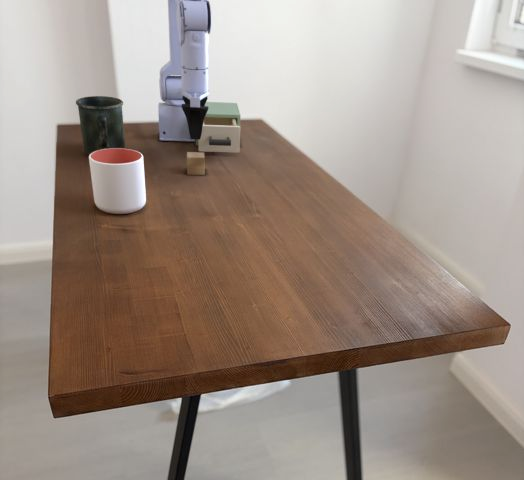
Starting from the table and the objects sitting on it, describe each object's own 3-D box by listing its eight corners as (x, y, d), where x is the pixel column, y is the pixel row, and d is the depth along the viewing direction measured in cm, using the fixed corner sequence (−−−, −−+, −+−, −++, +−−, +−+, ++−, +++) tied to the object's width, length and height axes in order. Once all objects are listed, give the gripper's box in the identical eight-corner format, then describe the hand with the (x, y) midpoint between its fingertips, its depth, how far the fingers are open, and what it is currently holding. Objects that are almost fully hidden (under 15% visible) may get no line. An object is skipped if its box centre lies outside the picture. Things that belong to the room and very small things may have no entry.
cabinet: (239, 146, 147) (240, 115, 142) (196, 145, 146) (195, 113, 141) (236, 133, 158) (237, 103, 153) (195, 131, 157) (195, 101, 152)
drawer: (240, 158, 136) (241, 132, 133) (198, 157, 135) (198, 130, 131) (236, 139, 150) (237, 114, 146) (198, 137, 149) (197, 113, 145)
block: (187, 174, 127) (186, 157, 125) (187, 169, 130) (186, 151, 128) (204, 175, 128) (204, 157, 125) (204, 169, 131) (204, 152, 128)
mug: (126, 146, 142) (121, 96, 135) (130, 164, 131) (125, 110, 123) (82, 146, 139) (75, 95, 132) (82, 165, 128) (75, 110, 121)
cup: (105, 219, 104) (99, 167, 98) (88, 201, 110) (81, 151, 105) (154, 211, 109) (151, 160, 103) (134, 194, 115) (130, 145, 109)
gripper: (176, 60, 121) (178, 125, 129) (174, 73, 110) (176, 142, 118) (208, 62, 122) (208, 126, 130) (210, 74, 110) (209, 143, 118)
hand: (195, 134), depth 124 cm, fingers open, 7 cm apart
